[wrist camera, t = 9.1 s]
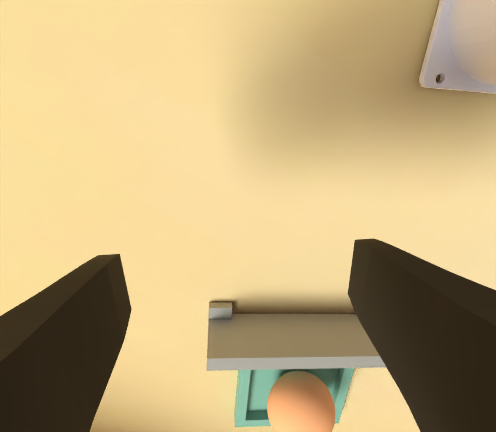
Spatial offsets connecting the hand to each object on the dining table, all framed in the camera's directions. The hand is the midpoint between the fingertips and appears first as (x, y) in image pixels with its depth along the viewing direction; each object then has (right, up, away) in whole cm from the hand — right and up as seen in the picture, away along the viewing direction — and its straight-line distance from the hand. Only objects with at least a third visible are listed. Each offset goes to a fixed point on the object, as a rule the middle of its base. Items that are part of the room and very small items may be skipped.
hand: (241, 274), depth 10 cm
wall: (+4, -6, +14) cm, 16 cm away
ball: (+4, -12, +16) cm, 20 cm away
